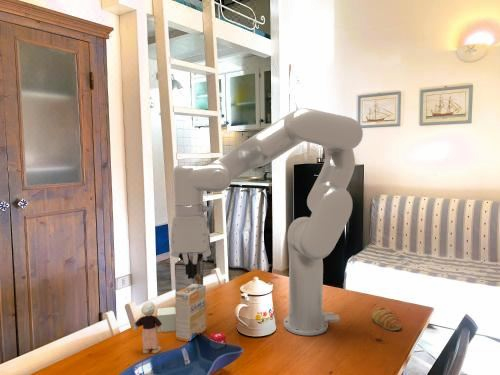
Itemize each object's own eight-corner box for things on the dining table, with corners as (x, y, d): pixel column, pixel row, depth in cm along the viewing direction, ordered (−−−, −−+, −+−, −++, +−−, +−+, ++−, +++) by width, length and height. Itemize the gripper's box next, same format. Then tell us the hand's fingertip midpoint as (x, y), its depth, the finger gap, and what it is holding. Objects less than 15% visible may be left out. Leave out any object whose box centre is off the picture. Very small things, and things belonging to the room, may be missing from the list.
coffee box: (186, 301, 127) (185, 255, 125) (204, 303, 125) (203, 256, 124) (175, 313, 118) (174, 263, 116) (194, 314, 116) (193, 264, 115)
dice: (215, 350, 95) (215, 339, 95) (209, 345, 98) (209, 334, 97) (225, 346, 97) (225, 335, 97) (219, 342, 99) (219, 331, 99)
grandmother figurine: (165, 345, 98) (164, 298, 96) (164, 353, 94) (163, 304, 93) (135, 347, 96) (133, 300, 95) (132, 355, 93) (130, 306, 92)
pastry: (408, 331, 105) (408, 318, 105) (386, 333, 104) (386, 320, 104) (389, 317, 114) (389, 305, 114) (369, 319, 113) (369, 307, 113)
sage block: (175, 323, 111) (175, 306, 110) (175, 330, 106) (175, 313, 106) (158, 324, 110) (157, 308, 109) (157, 332, 105) (157, 315, 104)
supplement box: (190, 343, 99) (189, 295, 98) (175, 339, 101) (174, 292, 100) (207, 330, 106) (206, 285, 105) (192, 326, 108) (192, 282, 107)
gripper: (218, 208, 104) (220, 272, 106) (165, 209, 105) (168, 273, 106) (215, 212, 97) (217, 281, 98) (158, 213, 97) (161, 282, 99)
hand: (191, 277), depth 102 cm, fingers closed
